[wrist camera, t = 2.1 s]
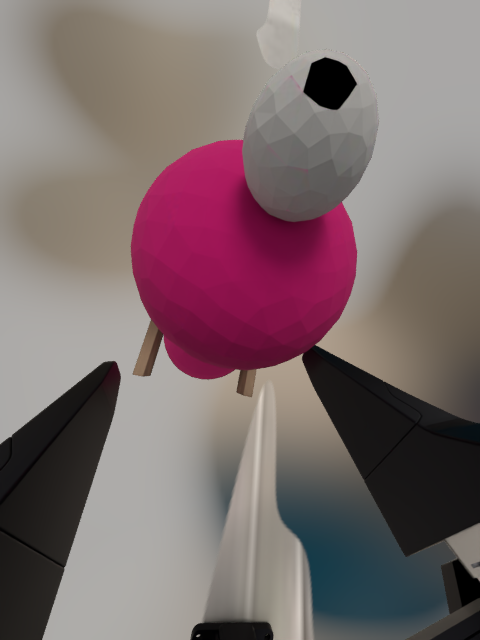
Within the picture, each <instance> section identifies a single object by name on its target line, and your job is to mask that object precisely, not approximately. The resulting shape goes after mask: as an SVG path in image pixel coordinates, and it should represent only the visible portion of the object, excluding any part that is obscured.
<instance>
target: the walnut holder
mask: <svg viewBox="0 0 480 640" xmlns="http://www.w3.org/2000/svg"><path fill="white" fill-rule="evenodd" d="M162 337H163V333H162V332H161V331H160V330H159V329H158V328H157V326H156V325H155V324H154V322H153V321H152V319H151V322H150V325H149V328H148V330H147V333H146V336H145V339H144V342H143V345H142V348H141V351H140V354H139V357H138V360H137V363H136V366H135V368H134V371H133V375H138V376H150V375H151V372H152V369H153V365H154V362H155V359H156V356H157V353H158V349H159V347H160V343H161V340H162ZM255 375H256V369H253V370H241V371H240V376H239V381H238V387H237V393H239V394H242V395H244V396H249V397H252V394H253V387H254V381H255Z"/></svg>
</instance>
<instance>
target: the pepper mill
mask: <svg viewBox="0 0 480 640" xmlns="http://www.w3.org/2000/svg"><path fill="white" fill-rule="evenodd" d="M378 124H379V119H378V107H377V96H376V93H375V91H374V88H373V86H372V83H371V81H370V79H369V77H368V74H367V72H366V71H365V70H364V69H363V68H362V66H361V65H359V63H358V62H357V61H355V60H354V59H352V58H351V57H349V56H348V55H346V54H345V53H343V52H338V51H332V50H327V49H324V50H316V51H308V52H305V53H304V54H302V55H300V56H298V57H296V58H294V59H292V60H291V61H289V62H288V63H287V64H286V65H285V66H284V67H283V68H281V69H280V70H279V71H278V72H277V73H276V74H275V75H274V76H272V77H271V78H270V79H269V80H268V82H267V83H266V85H265V87H264V88H263V90H262V92H261V93H260V95H259V96H258V98H257V100H256V101H255V103H254V105H253V108H252V110H251V113H250V116H249V119H248V121H247V124H246V128H245V133H244V140H227V141H218V142H214V143H212V144H208V145H205V146H202V147H199V148H196V149H193V150H191V151H190V152H188V153H187V154H185V155H184V156H182V157H181V158H179V159H178V160H176V161H175V162H174V163H172V164H171V165H169V166H168V167H166V169H165V170H164V171H163V172H162V173H161V174H160V175H159V176H158V177H157V178H156V180H155V181H154V183H153V184H152V185H151V187H150V189H149V190H148V191H147V193H146V195H145V197H144V198H143V200H142V202H141V204H140V207H139V209H138V212H137V216H136V219H135V223H134V228H133V235H132V242H131V257H132V268H133V275H134V278H135V281H136V284H137V288H138V291H139V294H140V298H141V301H142V303H143V305H144V307H145V309H146V311H147V313H148V315H149V316H150V318H151V319H152V321H153V322H154V324H155V325H156V326H157V328H158V329H159V330H160V331H161V332H162V333H163V335H164V343H165V348H166V350H167V353H168V355H169V358H170V359H171V361H172V362H173V364H174V365H175V366H176V367H177V368H178V369H179V370H181V371H182V372H184V373H185V374H187V375H189V376H191V377H195V378H199V379H215V378H219V377H223V376H225V375H227V374H229V373H231V372H232V371H234V370H235V369H239V370H253V369H260V368H266V367H270V366H275V365H278V364H280V363H283V362H285V361H288V360H290V359H292V358H294V357H296V356H299V355H301V354H302V353H305V352H307V351H308V350H309V349H310V348H312V347H313V346H314V345H315V344H316V343H318V342H319V341H320V340H321V339H322V338H323V337H324V336H325V335H326V333H327V332H328V331H329V330H330V329H331V328H332V326H333V325H334V324H335V323H336V322H337V320H338V319H339V318H340V316H341V314H342V312H343V310H344V308H345V306H346V304H347V301H348V299H349V297H350V294H351V291H352V287H353V284H354V280H355V276H356V262H357V249H356V243H355V237H354V232H353V226H352V222H351V220H350V218H349V216H348V214H347V212H346V210H345V208H344V206H343V204H342V201H343V200H344V199H345V198H346V197H347V196H348V195H349V194H350V193H351V191H352V190H353V189H354V188H355V186H356V185H357V184H358V183H359V181H360V179H361V177H362V175H363V173H364V171H365V169H366V167H367V165H368V163H369V161H370V159H371V157H372V153H373V149H374V145H375V140H376V135H377V130H378Z"/></svg>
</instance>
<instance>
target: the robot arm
mask: <svg viewBox="0 0 480 640" xmlns="http://www.w3.org/2000/svg"><path fill="white" fill-rule="evenodd" d="M302 361H303V363H304V366H305V368H306V371H307V373H308V375H309V378H310V380H311V382H312V385H313V387H314V389H315V391H316V393H317V395H318V396H319V398H320V400H321V402H322V404H323V406H324V407H325V409H326V411H327V413H328V415H329V417H330V418H331V420H332V422H333V424H334V426H335V428H336V430H337V431H338V433H339V435H340V437H341V439H342V441H343V443H344V444H345V446H346V448H347V449H348V452H349V453H350V455H351V457H352V459H353V461H354V463H355V464H356V467H357V468H358V470H359V472H360V474H361V476H362V478H363V479H364V481H365V483H366V485H367V487H368V489H369V491H370V493H371V495H372V496H373V498H374V500H375V502H376V504H377V505H378V507H379V509H380V511H381V513H382V515H383V517H384V518H385V520H386V522H387V524H388V526H389V528H390V530H391V531H392V533H393V535H394V537H395V539H396V541H397V543H398V544H399V546H400V548H401V550H402V551H403V553H404V555H405V556H406V557H407V556H410V555H412V554H415V553H417V552H419V551H422V550H424V549H426V548H429V547H431V546H433V545H435V544H438V543H440V542H442V541H445V542H446V544H447V545H448V546H449V548H450V549H451V550H452V552H453V553H454V554H455V556H456V557H457V558H456V559H454V560H452V561H450V562H448V563H445V564H443V565H441V569H442V575H443V580H444V586H445V591H446V596H447V602H448V607H449V612H450V615H448V616H446V617H445V618H443V619H441V620H439V621H437V622H436V623H434V624H432V625H430V626H429V627H427V628H425V629H423V630H422V631H420V632H418V633H416V634H415V635H413V636H411V637H409V638H407V639H406V640H480V423H475V422H471V421H468V420H465V419H462V418H459V417H457V416H454V415H452V414H450V413H448V412H446V411H444V410H442V409H439V408H437V407H435V406H433V405H431V404H429V403H427V402H424V401H422V400H420V399H418V398H416V397H414V396H412V395H410V394H408V393H406V392H403V391H402V390H400V389H398V388H395V387H394V386H392V385H390V384H388V383H386V382H383V381H382V380H381V379H379V378H377V377H375V376H373V375H371V374H369V373H367V372H365V371H363V370H361V369H359V368H358V367H356V366H354V365H352V364H350V363H348V362H346V361H344V360H342V359H341V358H339V357H337V356H335V355H333V354H331V353H329V352H327V351H325V350H324V349H322V348H320V347H318V346H316V345H314V346H313V347H312V348H310V349H309V350H308V351H307V352H305V353H303V356H302ZM120 379H121V376H120V372H119V369H118V365H117V363H116V362H115V361H108V362H104V363H102V364H101V365H100V366H98V367H97V368H96V369H95V370H93V371H92V372H91V373H89V374H88V375H87V376H86V377H84V378H83V379H82V380H81V381H79V382H78V383H77V384H76V385H74V386H73V387H72V388H71V389H69V390H68V391H67V392H66V393H64V394H63V395H62V396H61V397H59V398H58V399H57V400H56V401H54V402H53V403H52V404H51V405H49V406H48V407H47V408H46V409H44V410H43V411H42V412H40V413H39V414H38V415H37V416H35V417H34V418H33V419H32V420H30V421H29V422H28V423H27V424H25V425H24V426H23V427H22V428H21V429H19V430H18V431H17V432H15V433H14V434H13V435H12V437H9V438H8V439H6V440H5V441H4V442H3V443H1V444H0V640H42V638H43V635H44V632H45V629H46V626H47V623H48V619H49V616H50V613H51V610H52V607H53V604H54V600H55V597H56V594H57V591H58V588H59V585H60V582H61V579H62V576H63V572H64V567H65V566H66V563H67V559H68V556H69V553H70V550H71V547H72V544H73V541H74V538H75V535H76V532H77V528H78V525H79V522H80V519H81V515H82V513H83V510H84V507H85V503H86V500H87V497H88V494H89V491H90V488H91V485H92V482H93V478H94V475H95V472H96V469H97V466H98V463H99V460H100V456H101V453H102V450H103V447H104V444H105V441H106V438H107V435H108V432H109V428H110V425H111V422H112V418H113V415H114V411H115V406H116V401H117V396H118V390H119V385H120ZM267 633H268V634H267ZM199 634H200V636H199V637H196V636H197V635H199ZM266 634H267V635H266ZM265 635H266V636H265ZM191 640H273V632H272V628H271V625H270V624H269V623H199V624H197V625H196V626H195V627H194V628H193V630H192V634H191Z"/></svg>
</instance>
